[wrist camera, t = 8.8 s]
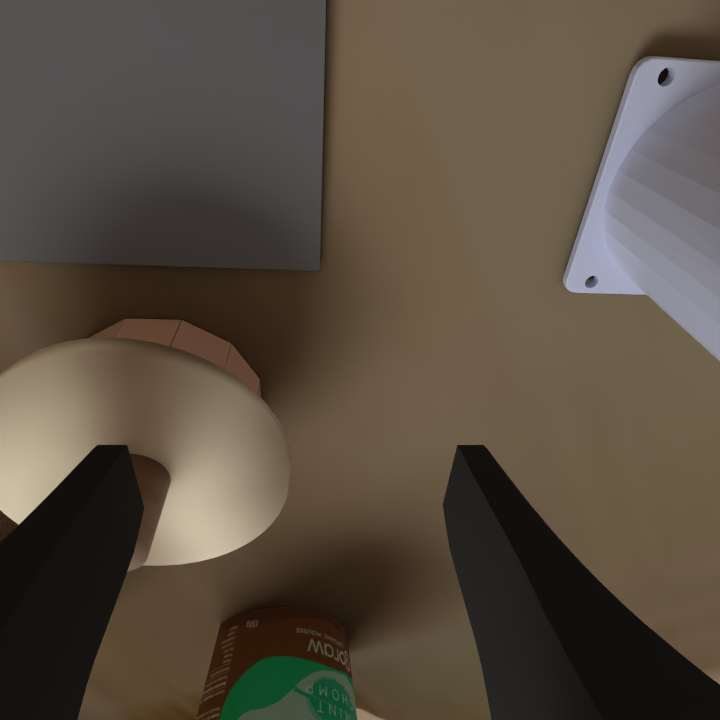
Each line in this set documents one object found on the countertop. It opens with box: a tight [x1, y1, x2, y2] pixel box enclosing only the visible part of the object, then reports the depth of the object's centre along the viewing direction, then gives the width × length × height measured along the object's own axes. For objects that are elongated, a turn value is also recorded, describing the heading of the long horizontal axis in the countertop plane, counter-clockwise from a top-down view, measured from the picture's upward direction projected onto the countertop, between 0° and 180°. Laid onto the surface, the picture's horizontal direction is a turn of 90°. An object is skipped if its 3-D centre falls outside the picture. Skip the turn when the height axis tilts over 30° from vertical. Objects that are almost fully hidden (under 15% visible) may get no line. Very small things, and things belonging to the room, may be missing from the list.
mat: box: [0, 0, 326, 271], centre depth 15 cm, size 13×13×1 cm
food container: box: [196, 607, 357, 720], centre depth 30 cm, size 12×6×10 cm, turn 50°
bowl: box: [89, 319, 261, 397], centre depth 21 cm, size 8×8×4 cm
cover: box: [0, 338, 291, 571], centre depth 17 cm, size 11×11×4 cm
